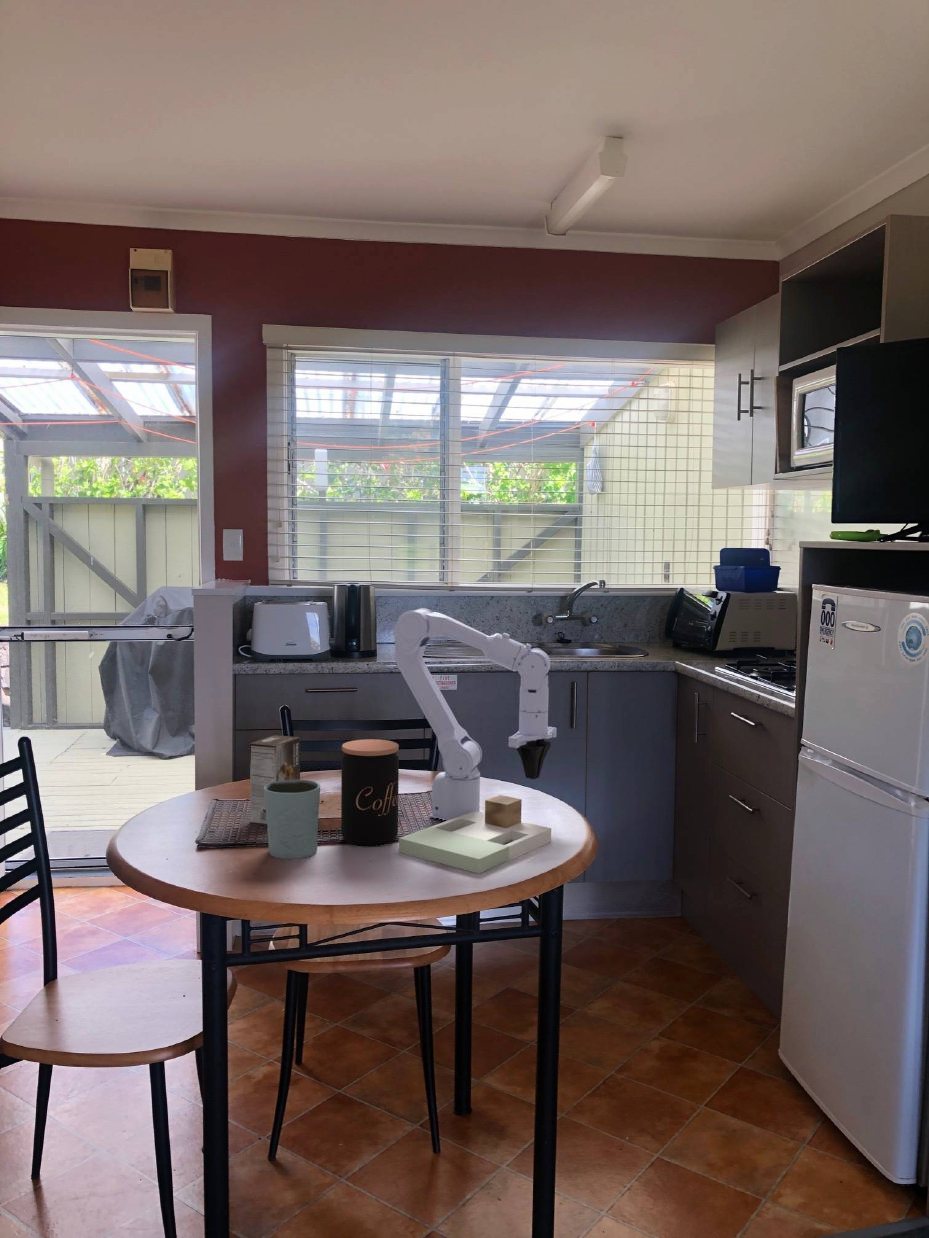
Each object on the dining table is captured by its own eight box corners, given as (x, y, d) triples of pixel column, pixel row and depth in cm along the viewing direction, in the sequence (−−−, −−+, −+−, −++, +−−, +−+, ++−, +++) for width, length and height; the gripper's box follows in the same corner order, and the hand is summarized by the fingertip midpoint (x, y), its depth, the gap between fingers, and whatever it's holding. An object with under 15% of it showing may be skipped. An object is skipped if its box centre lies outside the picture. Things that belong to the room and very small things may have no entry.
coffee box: (274, 810, 194) (274, 734, 193) (301, 813, 192) (301, 736, 191) (249, 822, 186) (249, 742, 185) (277, 826, 184) (277, 745, 182)
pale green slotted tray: (398, 851, 169) (398, 838, 169) (474, 823, 187) (474, 810, 187) (478, 873, 158) (479, 859, 158) (551, 841, 177) (551, 828, 176)
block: (484, 823, 179) (485, 800, 179) (499, 817, 183) (500, 794, 183) (506, 828, 176) (506, 804, 176) (521, 822, 180) (521, 799, 180)
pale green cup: (302, 863, 162) (302, 795, 161) (252, 855, 166) (252, 789, 165) (330, 846, 172) (330, 781, 171) (282, 839, 175) (282, 776, 174)
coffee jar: (353, 851, 169) (353, 753, 168) (333, 834, 178) (333, 741, 177) (407, 843, 174) (408, 748, 173) (385, 828, 183) (385, 737, 182)
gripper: (530, 717, 178) (529, 787, 179) (569, 708, 189) (568, 774, 190) (500, 713, 182) (498, 782, 183) (540, 704, 194) (539, 768, 195)
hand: (532, 777), depth 187 cm, fingers closed
